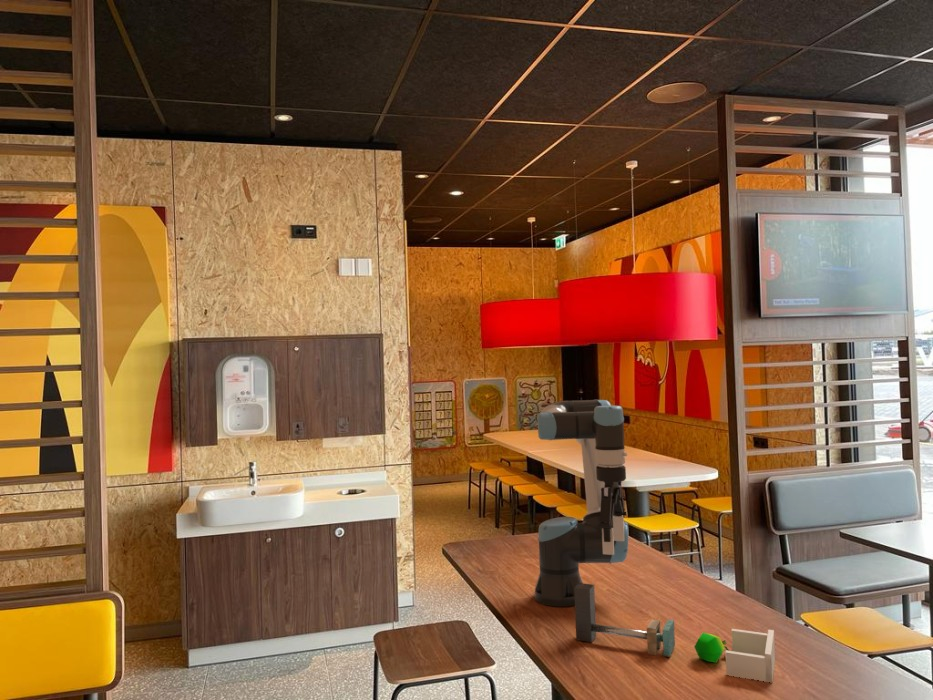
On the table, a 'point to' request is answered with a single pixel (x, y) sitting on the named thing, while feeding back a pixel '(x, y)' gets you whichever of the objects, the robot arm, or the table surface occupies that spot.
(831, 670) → the table surface
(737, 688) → the table surface
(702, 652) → the apple
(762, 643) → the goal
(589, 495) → the robot arm
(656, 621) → the bearing block
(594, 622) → the piston
